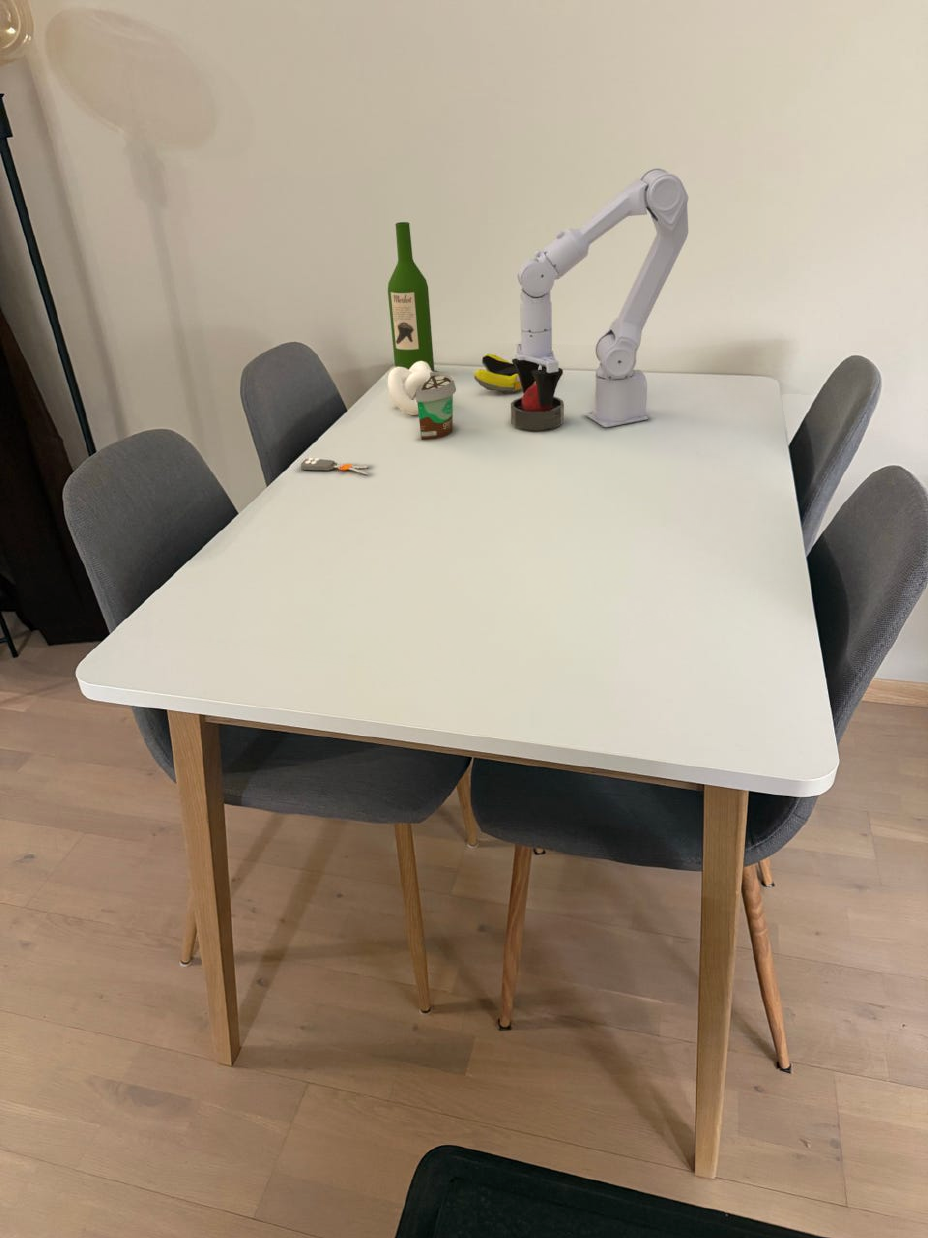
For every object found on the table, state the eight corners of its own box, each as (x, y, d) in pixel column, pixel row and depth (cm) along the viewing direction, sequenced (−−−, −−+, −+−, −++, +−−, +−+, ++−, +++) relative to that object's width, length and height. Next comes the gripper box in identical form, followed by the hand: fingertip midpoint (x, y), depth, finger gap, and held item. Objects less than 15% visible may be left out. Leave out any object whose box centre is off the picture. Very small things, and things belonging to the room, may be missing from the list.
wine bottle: (392, 381, 205) (376, 227, 188) (400, 369, 212) (386, 220, 195) (430, 381, 204) (418, 225, 186) (437, 369, 211) (427, 218, 194)
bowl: (549, 411, 182) (549, 392, 180) (572, 426, 174) (572, 406, 172) (503, 420, 179) (502, 400, 177) (524, 436, 171) (523, 415, 169)
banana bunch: (473, 397, 192) (520, 397, 190) (472, 371, 189) (519, 371, 187) (484, 376, 205) (528, 375, 203) (483, 351, 202) (527, 351, 200)
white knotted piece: (383, 403, 192) (378, 361, 187) (437, 395, 194) (434, 354, 190) (394, 420, 182) (390, 376, 178) (451, 411, 185) (448, 368, 180)
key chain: (299, 471, 162) (298, 463, 161) (307, 463, 165) (306, 455, 164) (366, 475, 159) (366, 467, 158) (374, 467, 162) (373, 459, 161)
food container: (451, 443, 170) (447, 391, 165) (419, 442, 171) (415, 391, 166) (464, 420, 180) (461, 371, 175) (434, 420, 181) (430, 370, 176)
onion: (531, 427, 173) (531, 386, 169) (516, 419, 177) (515, 379, 173) (557, 421, 175) (557, 381, 171) (541, 413, 179) (541, 373, 175)
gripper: (501, 323, 172) (503, 393, 179) (533, 340, 160) (534, 414, 167) (534, 317, 174) (535, 387, 181) (568, 334, 162) (568, 408, 169)
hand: (537, 400), depth 174 cm, fingers open, 7 cm apart
